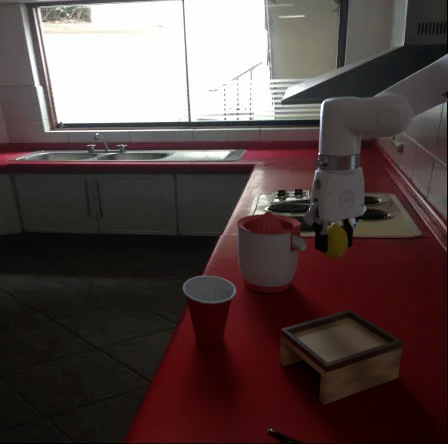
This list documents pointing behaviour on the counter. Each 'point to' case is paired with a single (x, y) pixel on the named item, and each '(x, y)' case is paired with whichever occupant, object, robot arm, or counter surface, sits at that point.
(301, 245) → the citrus juicer
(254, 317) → the counter surface
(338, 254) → the lemon
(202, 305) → the plastic cup
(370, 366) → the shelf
